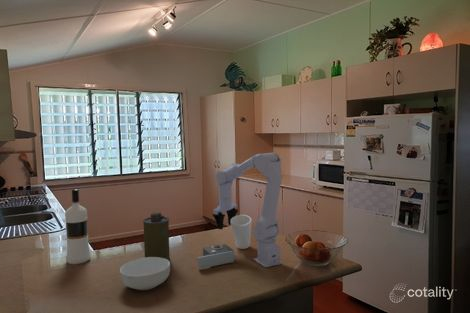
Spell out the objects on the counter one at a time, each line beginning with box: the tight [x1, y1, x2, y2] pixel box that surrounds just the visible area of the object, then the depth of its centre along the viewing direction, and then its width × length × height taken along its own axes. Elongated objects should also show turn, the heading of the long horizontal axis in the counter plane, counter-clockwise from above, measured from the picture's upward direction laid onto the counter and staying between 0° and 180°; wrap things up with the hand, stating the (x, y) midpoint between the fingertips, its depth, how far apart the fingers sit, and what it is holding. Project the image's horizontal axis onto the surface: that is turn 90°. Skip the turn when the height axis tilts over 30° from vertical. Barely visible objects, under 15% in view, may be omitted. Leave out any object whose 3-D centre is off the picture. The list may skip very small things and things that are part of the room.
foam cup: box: [230, 214, 253, 250], centre depth 153 cm, size 10×9×13 cm
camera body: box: [202, 243, 234, 256], centre depth 138 cm, size 8×10×6 cm
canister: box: [142, 211, 171, 262], centre depth 139 cm, size 11×10×20 cm
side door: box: [197, 250, 235, 270], centre depth 133 cm, size 1×15×4 cm, turn 116°
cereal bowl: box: [119, 256, 171, 291], centre depth 117 cm, size 17×17×7 cm
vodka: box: [64, 188, 91, 265], centre depth 140 cm, size 9×9×30 cm
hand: (225, 226), depth 153 cm, fingers open, 7 cm apart
